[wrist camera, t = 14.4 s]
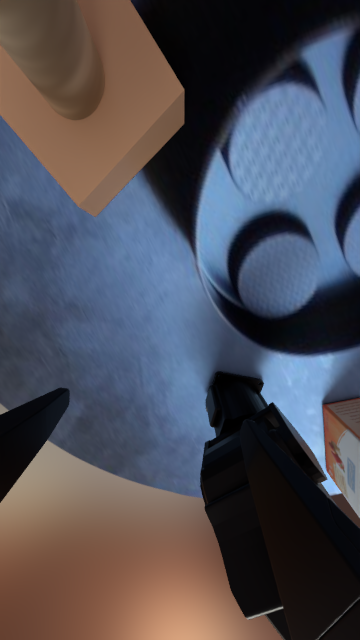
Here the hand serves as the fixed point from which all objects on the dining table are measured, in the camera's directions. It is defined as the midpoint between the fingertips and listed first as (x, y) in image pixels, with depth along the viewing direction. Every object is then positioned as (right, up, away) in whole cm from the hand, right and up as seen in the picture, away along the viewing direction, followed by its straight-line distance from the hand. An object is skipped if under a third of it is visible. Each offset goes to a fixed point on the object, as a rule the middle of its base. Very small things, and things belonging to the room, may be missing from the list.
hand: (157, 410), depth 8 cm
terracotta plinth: (-7, +24, +7) cm, 25 cm away
